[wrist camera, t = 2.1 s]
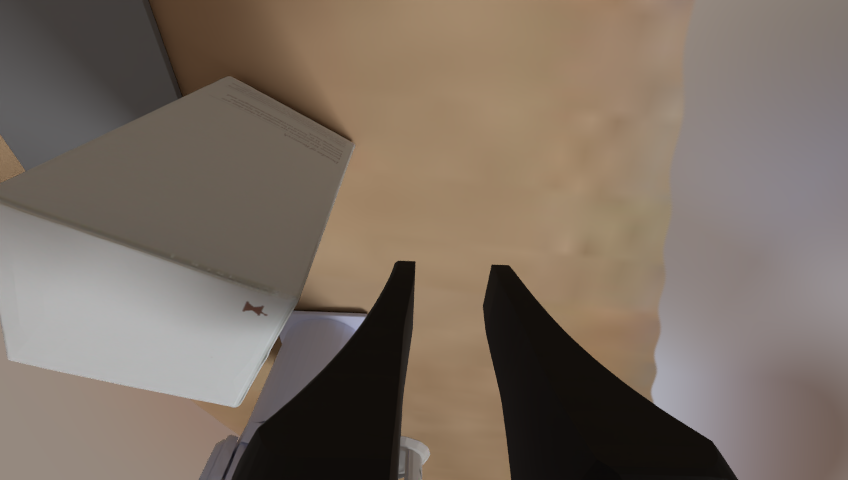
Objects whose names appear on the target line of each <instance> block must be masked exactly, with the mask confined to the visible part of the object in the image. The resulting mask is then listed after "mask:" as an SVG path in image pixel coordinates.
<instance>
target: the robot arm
mask: <svg viewBox="0 0 848 480" xmlns="http://www.w3.org/2000/svg"><path fill="white" fill-rule="evenodd" d="M414 285H415V261H397V262H396V263H395V264H394V268H393V270H392V273H391V275H390V277H389V279H388V281H387V283H386V285H385V287H384V289H383V291H382V292H381V294H380V296H379V298H378V299H377V301H376V303H375V304H374V306H373V307H372V309H371V310H370V312H369V313H368V315H367V314H363V313H337V312H311V311H292V313H291V315H290V317H289V318H288V320H287V322H286V324H285V325H284V327H283V329H282V331H281V332H280V334H279V336H280V339H281V343H282V345H281V348H280V350H279V352H278V354H277V357H276V359H275V361H274V364H273V366H272V368H271V371H270V373H269V375H268V377H267V380H266V382H265V384H264V387H263V389H262V391H261V394H260V396H259V398H258V400H257V403H256V405H255V407H254V410H253V412H252V414H251V417H250V419H249V421H248V423H247V426H246V427H245V429H244V431H243V433H242V435H241V436H240V438H239V440H238V437H236V436H233V435H229V436H228V437H227V438H226V440H225V439H224V440H222V441H220V442H218V443H217V444H216V445H215V447H214V449H213V451H212V453H211V455H210V457H209V460H208V461H207V464H206V466H205V468H204V470H203V472H202V474H201V476H200V478H199V480H398V474H399V456H400V438H401V421H402V404H403V393H404V385H405V378H406V371H407V364H408V358H409V351H410V344H411V337H412V330H413V309H414ZM483 311H484V321H485V330H486V335H487V340H488V344H489V348H490V353H491V357H492V361H493V366H494V370H495V374H496V378H497V383H498V387H499V391H500V396H501V402H502V408H503V415H504V423H505V430H506V438H507V446H508V455H509V463H510V472H511V480H738V479H737V477H736V476H735V474H734V473H733V471H732V470H731V468H730V467H729V465H728V464H727V462H726V461H725V459H724V458H723V456H722V455H721V453H720V452H719V450H718V449H717V447H716V446H715V445H714V443H713V442H712V441H711V440H709V439H707V438H706V437H704V436H703V435H701V434H700V433H698V432H696V431H695V430H693V429H692V428H690V427H688V426H686V425H685V424H684V423H682V422H680V421H679V420H677V419H676V418H674V417H672V416H671V415H669V414H668V413H666V412H665V411H663V410H662V409H660V408H659V407H657V406H656V405H655V404H653V403H652V402H650V401H649V400H647V399H646V398H645V397H643V396H642V395H640V394H639V393H637V392H636V391H635V390H633V389H632V388H631V387H629V386H628V385H627V384H625V383H624V382H623V381H621V380H620V379H619V378H618V377H616V376H615V375H614V374H613V373H611V372H610V371H609V370H608V369H606V368H605V367H604V366H603V365H601V364H600V363H599V362H598V361H597V360H595V359H594V358H593V357H592V356H591V355H590V354H589V353H587V352H586V351H585V350H584V349H583V348H582V347H581V346H580V345H579V344H578V343H576V342H575V341H574V340H573V339H572V338H571V337H570V336H569V335H568V334H567V333H566V332H565V331H564V330H563V329H562V328H561V327H560V326H559V325H558V324H557V323H556V321H555V320H554V319H553V318H552V317H551V316H550V315H549V314H548V313H547V311H546V310H545V309H544V308H543V307H542V306H541V304H540V303H539V302H538V301H537V300H536V299H535V297H534V296H533V295H532V294H531V292H530V291H529V290H528V289H527V287H526V286H525V285H524V284H523V282H522V281H521V280H520V279H519V277H518V276H517V275H516V273H515V272H514V271H513V270H512V268H511V267H510V266H509V265H492V266H491V271H490V275H489V280H488V285H487V289H486V294H485V299H484V303H483ZM237 440H238V442H237Z"/></svg>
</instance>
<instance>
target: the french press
mask: <svg viewBox="0 0 848 480" xmlns="http://www.w3.org/2000/svg"><path fill="white" fill-rule="evenodd" d="M429 455H430V452H429V449H428V447H427V446H425V445H424V444H423V443H421V442H420V441H417V440H414V439H411V438H408V437H402V436H401V438H400V456H399V474H398V479H400V478H403V477H404V480H422V465H423V464H424V463H425V462H426V461H427V459H428V457H429Z"/></svg>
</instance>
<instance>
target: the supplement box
mask: <svg viewBox="0 0 848 480" xmlns="http://www.w3.org/2000/svg"><path fill="white" fill-rule="evenodd" d="M354 148H355V144H354V143H353V142H351V141H349V140H347V139H345V138H344V137H342V136H340V135H338V134H337V133H335V132H333V131H331V130H329V129H327V128H325V127H324V126H322V125H320V124H318V123H316V122H315V121H313V120H311V119H309V118H307V117H305V116H304V115H302V114H300V113H298V112H296V111H295V110H293V109H291V108H289V107H287V106H285V105H284V104H282V103H280V102H278V101H276V100H274V99H273V98H271V97H269V96H267V95H265V94H263V93H261V92H259V91H258V90H256V89H254V88H253V87H251V86H249V85H247V84H245V83H243V82H241V81H239V80H237V79H235V78H233V77H231V76H227V77H224V78H222V79H220V80H218V81H216V82H214V83H212V84H210V85H207V86H205V87H203V88H201V89H199V90H197V91H194V92H192V93H190V94H188V95H186V96H184V97H182V98H180V99H178V100H176V101H174V102H171V103H169V104H167V105H165V106H163V107H161V108H159V109H157V110H155V111H153V112H151V113H148V114H146V115H144V116H142V117H140V118H138V119H136V120H134V121H131V122H129V123H127V124H125V125H123V126H121V127H119V128H116V129H114V130H112V131H110V132H108V133H106V134H104V135H102V136H100V137H98V138H96V139H93V140H91V141H89V142H87V143H85V144H83V145H81V146H79V147H77V148H74V149H72V150H70V151H68V152H66V153H63V154H61V155H59V156H57V157H55V158H53V159H51V160H49V161H47V162H45V163H42V164H40V165H38V166H36V167H34V168H32V169H30V170H27V171H25V172H23V173H21V174H19V175H17V176H15V177H13V178H11V179H8V180H6V181H4V182H2V183H0V321H1V327H2V332H3V337H4V343H5V347H6V353H7V358H8V359H9V360H10V361H15V362H20V363H23V364H28V365H32V366H37V367H41V368H45V369H49V370H54V371H59V372H64V373H68V374H73V375H78V376H83V377H88V378H92V379H98V380H102V381H107V382H111V383H116V384H120V385H125V386H130V387H135V388H140V389H145V390H150V391H155V392H160V393H165V394H170V395H175V396H180V397H185V398H190V399H195V400H200V401H206V402H211V403H215V404H220V405H225V406H230V407H238V406H239V405H240V404H241V403H242V401H243V399H244V397H245V396H246V394H247V392H248V390H249V388H250V387H251V385H252V383H253V381H254V379H255V378H256V376H257V374H258V372H259V370H260V369H261V367H262V365H263V364H264V362H265V361H266V359H267V357H268V355H269V353H270V351H271V349H272V347H273V345H274V343H275V341H276V340H277V338H278V336H279V334H280V332H281V331H282V329H283V327H284V325H285V324H286V322H287V320H288V318H289V317H290V315H291V313H292V311H293V310H294V308H295V306H296V304H297V303H298V301H299V299H300V296H301V293H302V290H303V287H304V285H305V282H306V279H307V277H308V274H309V271H310V268H311V266H312V263H313V260H314V257H315V255H316V252H317V249H318V246H319V244H320V241H321V238H322V235H323V232H324V230H325V227H326V224H327V222H328V219H329V216H330V213H331V210H332V208H333V205H334V202H335V199H336V197H337V194H338V191H339V188H340V186H341V183H342V180H343V177H344V174H345V171H346V169H347V166H348V163H349V161H350V158H351V155H352V152H353V150H354Z"/></svg>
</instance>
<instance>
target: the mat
mask: <svg viewBox="0 0 848 480" xmlns="http://www.w3.org/2000/svg"><path fill="white" fill-rule="evenodd" d="M180 98H182V95H181V92H180V89H179V86H178V83H177V81H176V78H175V75H174V72H173V69H172V66H171V64H170V61H169V58H168V55H167V52H166V49H165V47H164V44H163V41H162V38H161V35H160V33H159V30H158V27H157V24H156V21H155V18H154V16H153V13H152V10H151V7H150V4H149V1H148V0H0V134H1V136H2V137H3V139H4V140H5V142H6V143H7V145H8V146H9V147H10V149H11V150H12V152H13V153H14V155H15V156H16V158H17V159H18V160H19V162H20V163H21V165H22V166H23V168H24V169H25V170H26V171H27V170H30V169H32V168H34V167H36V166H38V165H40V164H42V163H45V162H47V161H49V160H51V159H53V158H55V157H57V156H59V155H61V154H63V153H66V152H68V151H70V150H72V149H74V148H77V147H79V146H81V145H83V144H85V143H87V142H89V141H91V140H93V139H96V138H98V137H100V136H102V135H104V134H106V133H108V132H110V131H112V130H114V129H116V128H119V127H121V126H123V125H125V124H127V123H129V122H131V121H134V120H136V119H138V118H140V117H142V116H144V115H146V114H148V113H151V112H153V111H155V110H157V109H159V108H161V107H163V106H165V105H167V104H169V103H171V102H174V101H176V100H178V99H180Z"/></svg>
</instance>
